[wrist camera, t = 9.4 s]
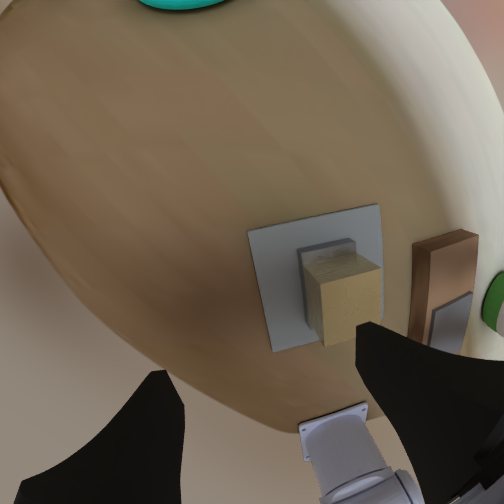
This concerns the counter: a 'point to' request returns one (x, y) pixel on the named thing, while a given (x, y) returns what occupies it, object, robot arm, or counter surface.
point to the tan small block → (338, 289)
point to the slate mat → (287, 267)
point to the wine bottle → (495, 305)
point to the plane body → (443, 289)
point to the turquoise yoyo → (179, 3)
